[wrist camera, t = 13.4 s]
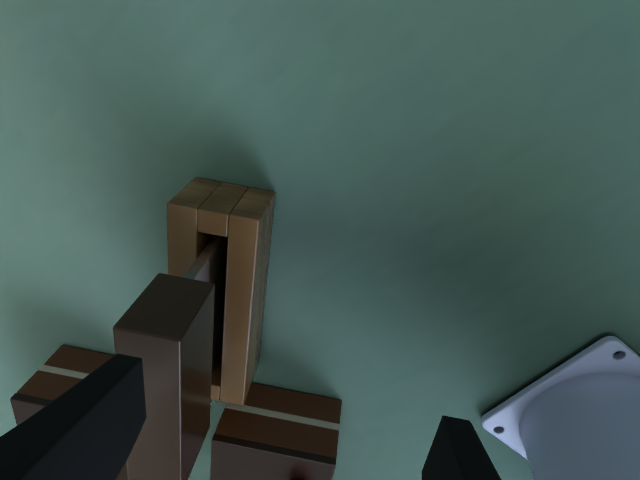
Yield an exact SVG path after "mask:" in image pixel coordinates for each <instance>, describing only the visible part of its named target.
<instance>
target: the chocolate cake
mask: <svg viewBox="0 0 640 480" xmlns="http://www.w3.org/2000/svg"><path fill="white" fill-rule="evenodd" d="M341 405H342V401H341V400H337V399H332V398H327V397H322V396H317V395H312V394H306V393H301V392H296V391H291V390H286V389H281V388H276V387H271V386H266V385H261V384H256V383H251V386H250V389H249V392H248V395H247V397H246V400H245V403H244V405H237V404H232V403H226V405H225V408H224V410H223V413H222V415H221V418H220V421H219V423H218V426H217V428H216V431H215V434H214V436H213V438H212V448H211V473H210V480H332V478H333V474H334V469H335V465H336V456H337V445H338V435H339V424H340V415H341Z"/></svg>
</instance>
